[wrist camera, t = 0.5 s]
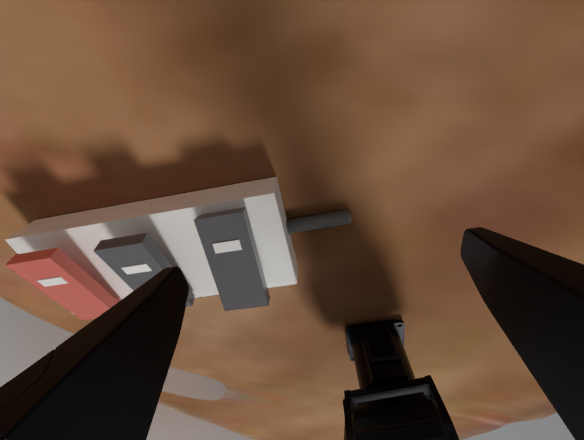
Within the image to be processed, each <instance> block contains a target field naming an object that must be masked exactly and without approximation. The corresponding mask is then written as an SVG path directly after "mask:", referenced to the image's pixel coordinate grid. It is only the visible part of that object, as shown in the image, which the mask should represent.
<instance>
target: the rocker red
mask: <svg viewBox="0 0 584 440" xmlns="http://www.w3.org/2000/svg"><path fill="white" fill-rule="evenodd" d="M6 266H7V267H8V268H10V269H11V270H13V271H14V272H15V273H17V274H18V275H20V276H21V277H22V278H24V279H25V280H27V281H28V282H30V283H31V284H32V285H34V286H35V287H37V288H38V289H39V290H41V291H42V292H44V293H45V294H46V295H48V296H49V297H51V298H52V299H53V300H55V301H56V302H58V303H59V304H60V305H62V306H63V307H65V308H66V309H67V310H69V311H70V312H72V313H73V314H74V315H76V316H77V317H79V318H80V319H81V320H87V319H94V318H97V317H99V316H100V315H101V314H103V313H104V312H105V311H107V310H108V309H110V308H111V307H112V306H114V305H115V304H116V303H118V302H119V301H118V300H117V299H116V298H115V297H114V296H112V295H111V294H110V293H109V292H108V291H107V290H106V289H105V288H103V287H102V286H101V285H100V284H99V283H98V282H97V281H96V280H94V279H93V278H92V277H91V276H90V275H89V274H88V273H87V272H85V271H84V270H83V269H82V268H81V267H80V266H79V265H78V264H76V263H75V262H74V261H73V260H72V259H71V258H70V257H69V256H67V255H66V254H65V253H64V252H63V251H62V250H61V249H60V248H52V249H46V250H40V251H34V252H28V253H22V254H16V255H14V257H13V258H12V259H11V260H10V261H9V262H8V263H7V264H6Z"/></svg>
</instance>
